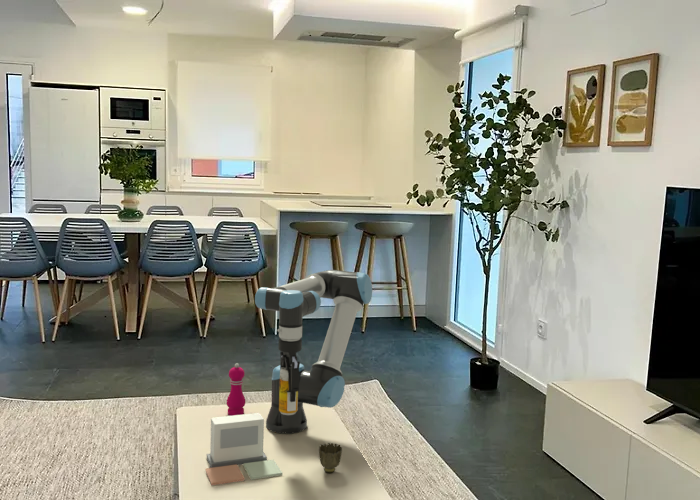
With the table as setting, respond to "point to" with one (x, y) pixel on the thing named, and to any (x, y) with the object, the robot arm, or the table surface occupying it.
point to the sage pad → (262, 469)
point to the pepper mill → (236, 391)
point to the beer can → (285, 393)
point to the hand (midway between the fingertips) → (288, 406)
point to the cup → (330, 456)
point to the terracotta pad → (224, 474)
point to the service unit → (236, 440)
